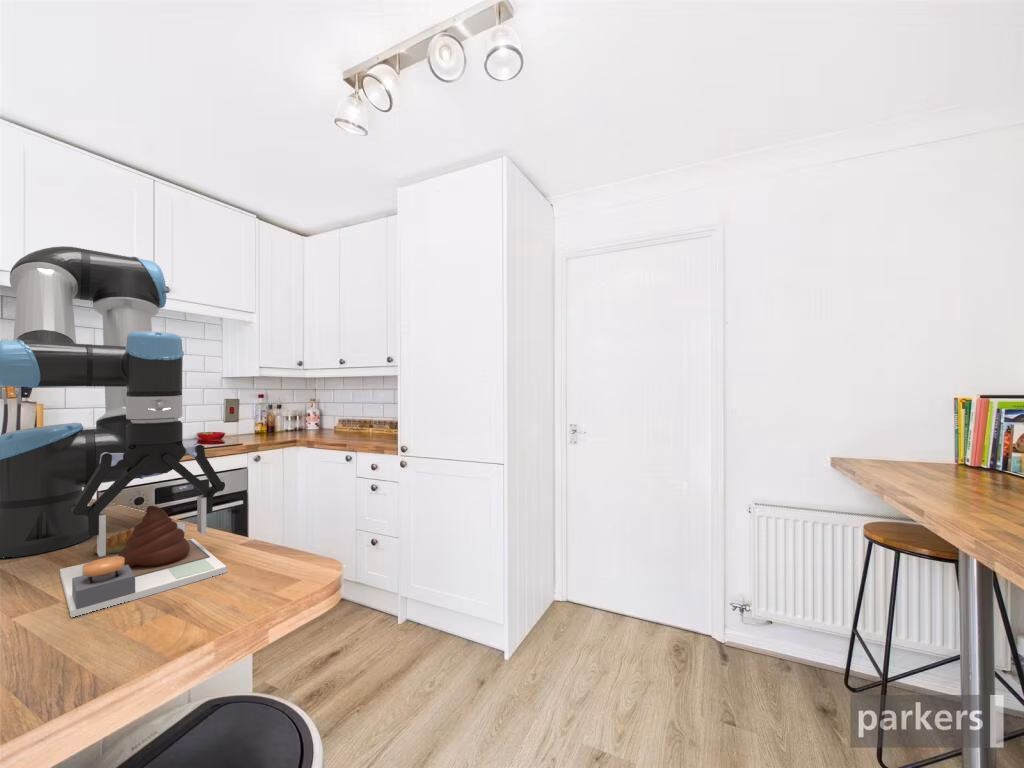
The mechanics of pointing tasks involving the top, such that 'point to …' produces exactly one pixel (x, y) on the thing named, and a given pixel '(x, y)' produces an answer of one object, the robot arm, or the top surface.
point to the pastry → (116, 542)
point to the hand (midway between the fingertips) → (155, 542)
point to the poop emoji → (156, 540)
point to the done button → (103, 568)
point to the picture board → (136, 580)
